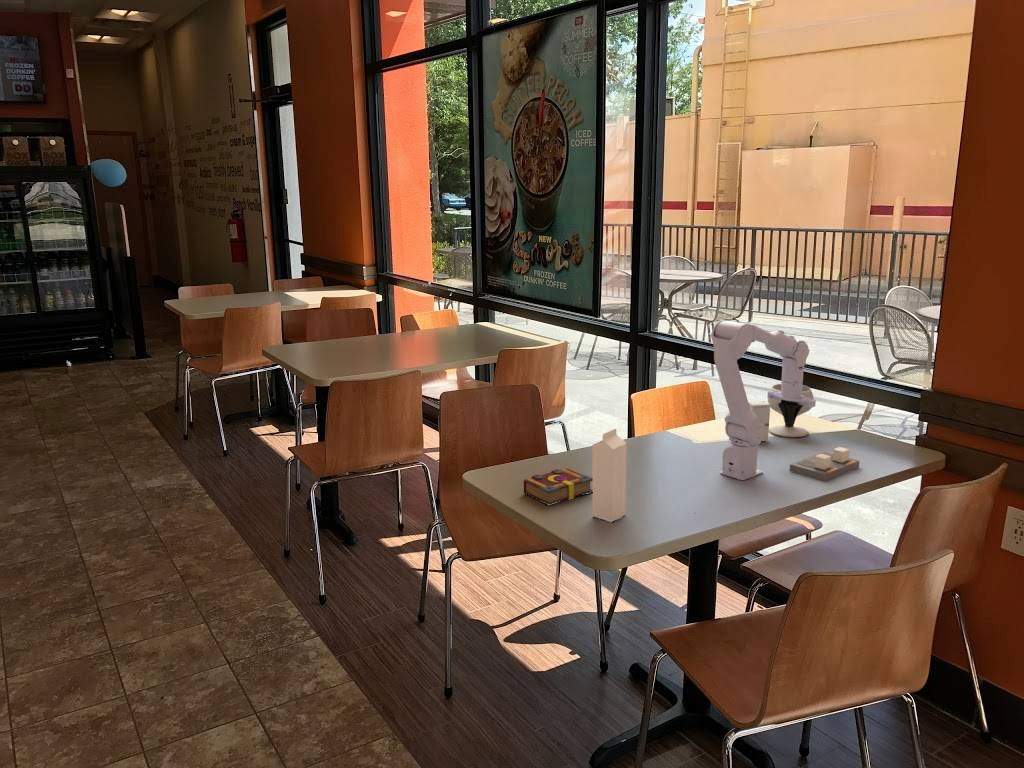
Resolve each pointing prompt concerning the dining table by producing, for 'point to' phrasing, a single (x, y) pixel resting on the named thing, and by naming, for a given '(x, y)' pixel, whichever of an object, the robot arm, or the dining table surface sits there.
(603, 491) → the milk
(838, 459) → the cream cube
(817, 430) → the dining table surface
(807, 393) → the chalice
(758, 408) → the skincare box
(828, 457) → the cream white cube
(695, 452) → the dining table surface
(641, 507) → the dining table surface
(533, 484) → the decorative book
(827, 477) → the switch board
